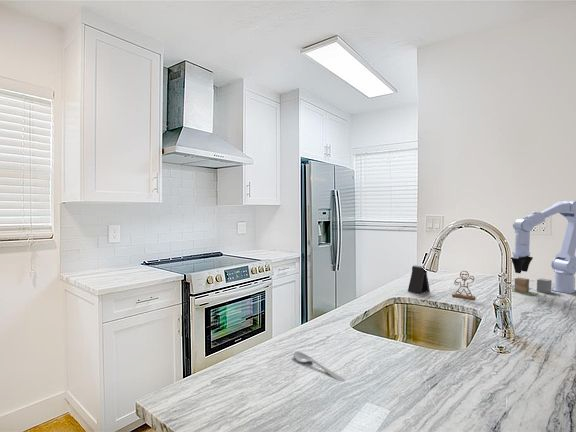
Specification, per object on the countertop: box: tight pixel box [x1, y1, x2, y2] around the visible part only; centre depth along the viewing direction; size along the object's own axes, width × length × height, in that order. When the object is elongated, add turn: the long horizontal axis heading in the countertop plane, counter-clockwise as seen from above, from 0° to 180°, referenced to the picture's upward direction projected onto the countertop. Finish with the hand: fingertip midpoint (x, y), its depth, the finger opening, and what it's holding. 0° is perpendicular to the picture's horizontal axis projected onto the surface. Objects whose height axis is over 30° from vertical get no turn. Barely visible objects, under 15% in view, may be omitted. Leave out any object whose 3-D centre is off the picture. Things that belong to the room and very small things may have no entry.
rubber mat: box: [511, 288, 540, 296], centre depth 171 cm, size 6×12×1 cm, turn 37°
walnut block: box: [514, 277, 530, 294], centre depth 171 cm, size 4×4×6 cm
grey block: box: [536, 278, 552, 294], centre depth 172 cm, size 4×4×6 cm
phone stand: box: [407, 265, 431, 295], centre depth 170 cm, size 9×6×12 cm, turn 127°
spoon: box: [293, 351, 346, 383], centre depth 89 cm, size 4×21×2 cm, turn 40°
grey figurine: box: [451, 270, 476, 301], centre depth 160 cm, size 9×4×12 cm, turn 52°
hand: (521, 272), depth 172 cm, fingers open, 7 cm apart
